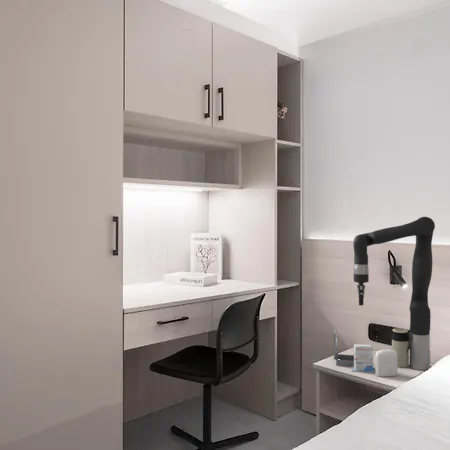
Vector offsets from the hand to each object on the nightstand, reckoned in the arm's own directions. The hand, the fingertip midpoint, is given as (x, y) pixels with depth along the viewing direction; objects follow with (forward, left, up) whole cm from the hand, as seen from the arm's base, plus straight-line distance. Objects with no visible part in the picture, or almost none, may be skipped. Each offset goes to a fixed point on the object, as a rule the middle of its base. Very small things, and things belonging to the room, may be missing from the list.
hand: (361, 303), depth 248 cm
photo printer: (-12, +20, -30) cm, 38 cm away
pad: (-1, +15, -30) cm, 33 cm away
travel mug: (-19, +3, -30) cm, 36 cm away
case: (+5, +6, -30) cm, 31 cm away
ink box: (-1, +14, -30) cm, 33 cm away
